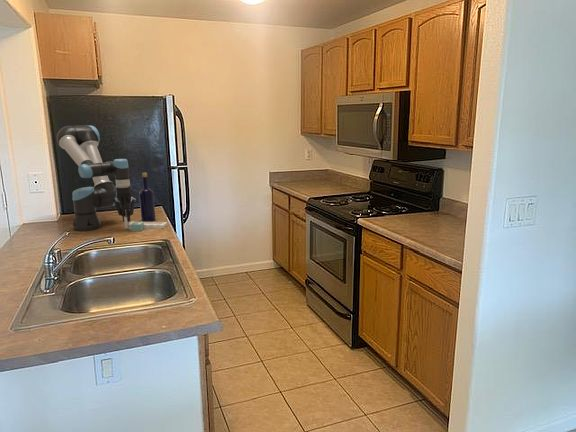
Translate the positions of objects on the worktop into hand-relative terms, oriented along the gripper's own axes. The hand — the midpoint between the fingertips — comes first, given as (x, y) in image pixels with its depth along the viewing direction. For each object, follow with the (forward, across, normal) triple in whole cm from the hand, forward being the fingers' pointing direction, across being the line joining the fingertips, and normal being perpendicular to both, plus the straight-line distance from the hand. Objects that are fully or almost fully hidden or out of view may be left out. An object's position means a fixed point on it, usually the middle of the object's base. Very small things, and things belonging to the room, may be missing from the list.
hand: (127, 227), depth 247 cm
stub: (+2, +6, 0) cm, 6 cm away
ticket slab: (+2, +9, +7) cm, 12 cm away
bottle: (+2, +4, +22) cm, 23 cm away
